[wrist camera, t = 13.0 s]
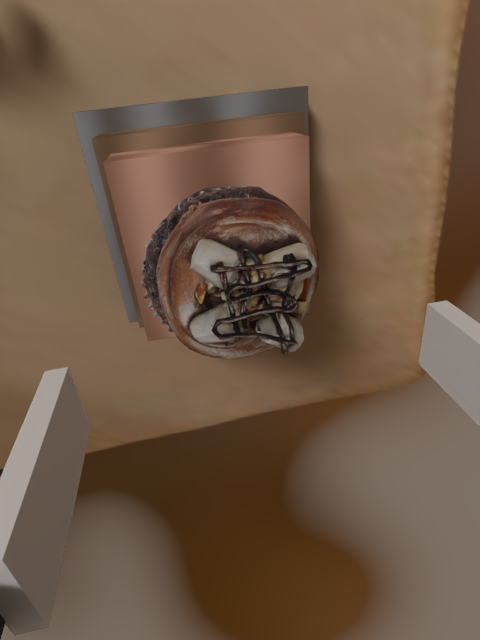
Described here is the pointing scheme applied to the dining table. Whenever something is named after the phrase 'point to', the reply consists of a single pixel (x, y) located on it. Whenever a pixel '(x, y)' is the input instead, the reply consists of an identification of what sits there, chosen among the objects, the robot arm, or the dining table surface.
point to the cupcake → (232, 272)
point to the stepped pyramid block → (188, 168)
